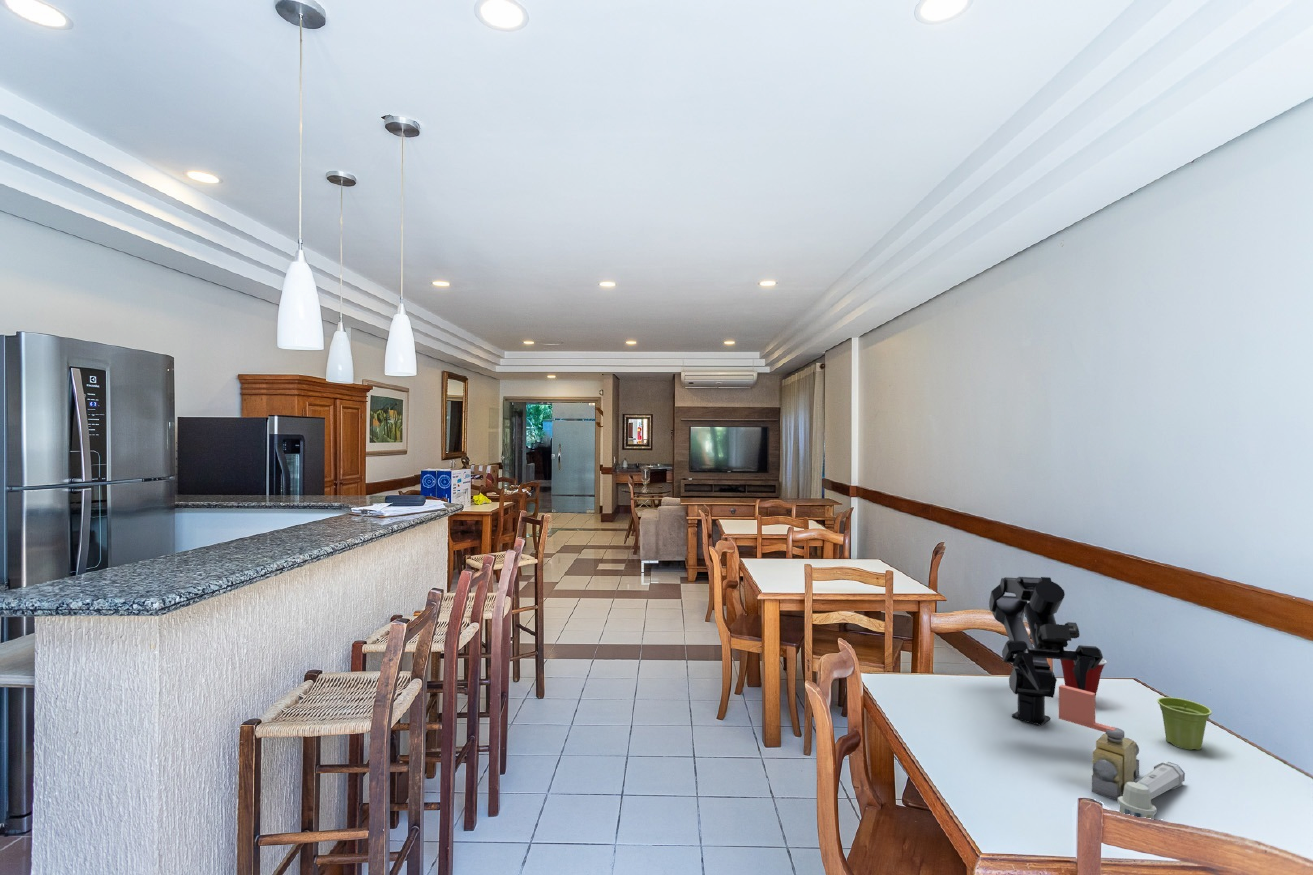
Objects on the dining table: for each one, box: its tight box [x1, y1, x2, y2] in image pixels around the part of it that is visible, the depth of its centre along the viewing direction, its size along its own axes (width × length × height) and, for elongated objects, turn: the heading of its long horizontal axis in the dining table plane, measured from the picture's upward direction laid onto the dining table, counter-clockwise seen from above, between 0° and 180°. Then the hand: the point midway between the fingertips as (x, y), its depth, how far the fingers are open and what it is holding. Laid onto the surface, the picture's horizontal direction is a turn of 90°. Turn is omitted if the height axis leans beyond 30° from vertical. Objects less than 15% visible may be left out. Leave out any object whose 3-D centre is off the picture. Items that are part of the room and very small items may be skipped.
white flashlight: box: [1117, 761, 1186, 820], centre depth 119 cm, size 5×7×25 cm
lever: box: [1058, 684, 1125, 739], centre depth 128 cm, size 11×3×7 cm, turn 40°
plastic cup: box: [1059, 649, 1107, 699], centre depth 168 cm, size 11×11×12 cm
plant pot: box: [1156, 696, 1213, 751], centre depth 143 cm, size 9×9×9 cm
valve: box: [1091, 732, 1140, 801], centre depth 126 cm, size 16×5×9 cm, turn 130°
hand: (1061, 691), depth 137 cm, fingers open, 8 cm apart
